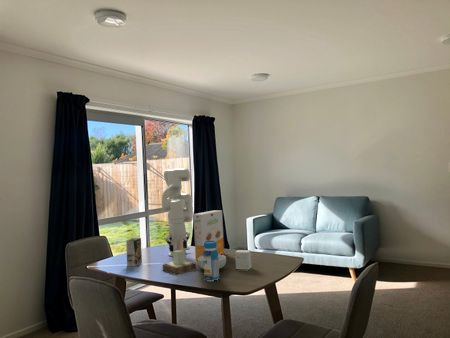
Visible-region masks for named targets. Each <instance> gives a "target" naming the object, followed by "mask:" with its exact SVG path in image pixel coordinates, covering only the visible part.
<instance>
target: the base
mask: <svg viewBox="0 0 450 338" xmlns="http://www.w3.org/2000/svg"><path fill="white" fill-rule="evenodd" d="M194 269H195V270H197V264H196V263H195V262H193V261H189V260H186V259H185V263H182V264H174V263H173V261H169V262H165V263H164V264H162V271H164V272H167V273H171V274H173V275H180V274H184V273H188V272H190V270H191V271H194ZM187 271H188V272H187Z"/></svg>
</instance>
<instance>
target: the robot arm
mask: <svg viewBox="0 0 450 338" xmlns="http://www.w3.org/2000/svg"><path fill="white" fill-rule="evenodd" d="M163 178H164V181H165V183H166V186H167V188H165V190H164V191H163V193H162V196H161V208H162V210H163V212H167V220H168V221H167V222H168V226H169V227H168V235H167V236H166V237H165V238H164V240H165V242H166V243H167V244H168V248H169V253H167V255H168V256H169V257H173V251H177V250H182V251H185V256H186V255H187V251H190V249H191V247H190V246H188V241H189V239H190V236H191V233H190V232H187V228H186V224H187V223H191V222H192V221H194V214H193V213H194V212H193V200H192V195H191V194H190V193H182V192H181V191H182V189H183V187H182V186H183V185H182V184H183V183H182V182H189V181H190V180H191V172H190V170H189V169H188V168H173V169H172V168H171V169H165V171H164V172H163ZM185 223H186V224H185Z"/></svg>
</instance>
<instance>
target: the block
mask: <svg viewBox="0 0 450 338" xmlns="http://www.w3.org/2000/svg"><path fill="white" fill-rule="evenodd" d="M185 252H186V251H182V250H177V251H173V256H172V262H173V263H174V264H182V263H185V260H186V258H185V257H186V255H185Z"/></svg>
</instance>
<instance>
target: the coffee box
mask: <svg viewBox="0 0 450 338" xmlns="http://www.w3.org/2000/svg"><path fill="white" fill-rule="evenodd" d="M125 243H126V245H125V246H126V267H127V266H128V267H137V266H139V265H141V264H142V263H143V258H142V257H143V255H142V252H143V251H142V238H140V237H135V238H130V239H128V240H126V241H125Z"/></svg>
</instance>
